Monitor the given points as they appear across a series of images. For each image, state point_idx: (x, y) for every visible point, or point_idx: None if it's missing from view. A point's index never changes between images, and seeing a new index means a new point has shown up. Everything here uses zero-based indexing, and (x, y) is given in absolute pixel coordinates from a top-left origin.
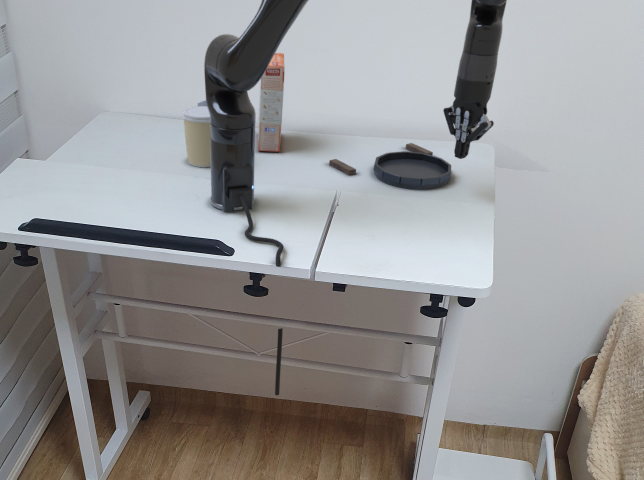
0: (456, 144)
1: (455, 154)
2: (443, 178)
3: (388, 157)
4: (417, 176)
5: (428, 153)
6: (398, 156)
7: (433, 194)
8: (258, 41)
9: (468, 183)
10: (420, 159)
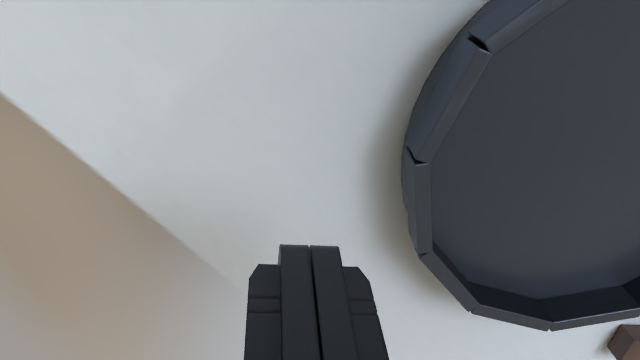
0: (369, 334)
1: (333, 255)
2: (411, 187)
3: None
4: (549, 126)
5: (629, 344)
6: None
7: (363, 44)
8: None
9: None
10: (632, 281)
